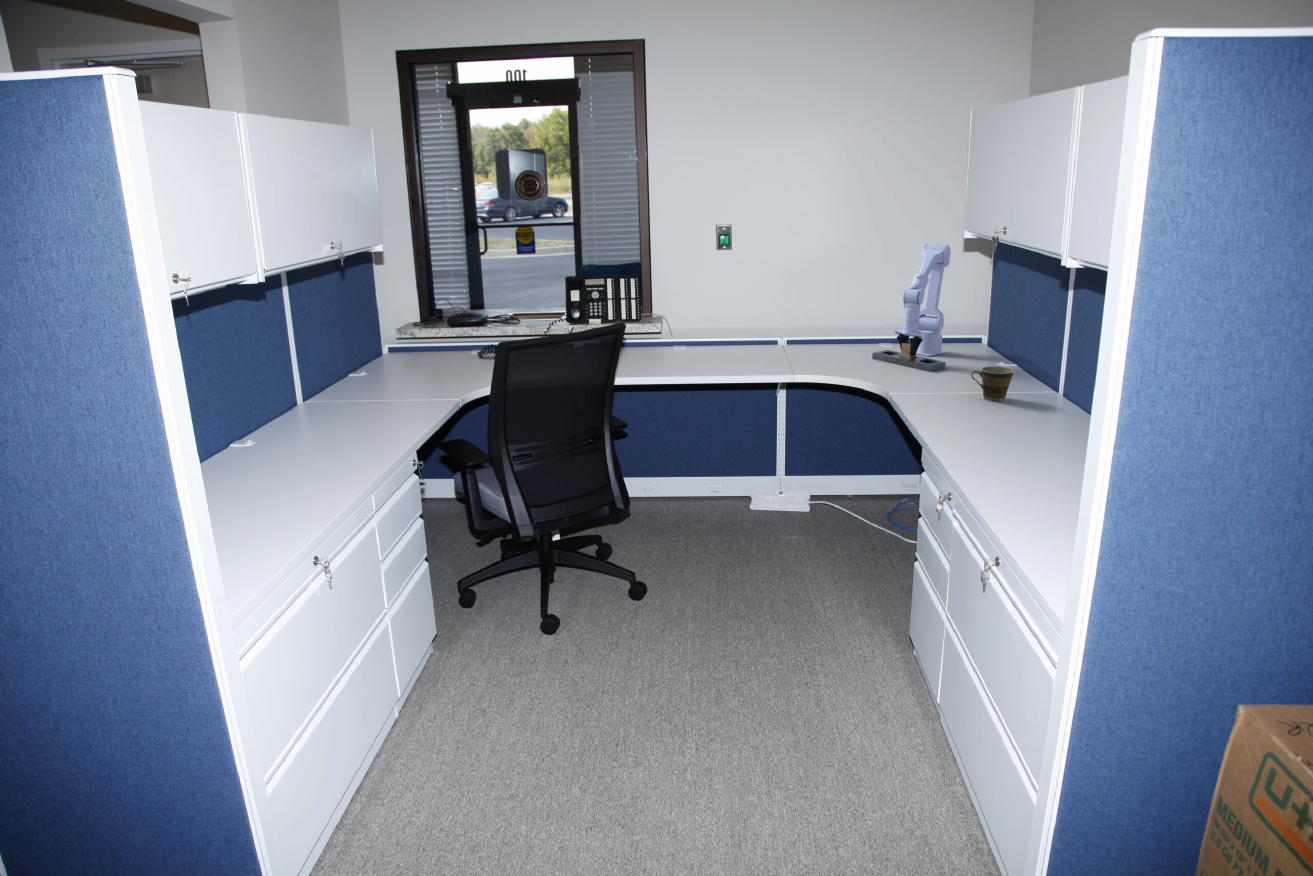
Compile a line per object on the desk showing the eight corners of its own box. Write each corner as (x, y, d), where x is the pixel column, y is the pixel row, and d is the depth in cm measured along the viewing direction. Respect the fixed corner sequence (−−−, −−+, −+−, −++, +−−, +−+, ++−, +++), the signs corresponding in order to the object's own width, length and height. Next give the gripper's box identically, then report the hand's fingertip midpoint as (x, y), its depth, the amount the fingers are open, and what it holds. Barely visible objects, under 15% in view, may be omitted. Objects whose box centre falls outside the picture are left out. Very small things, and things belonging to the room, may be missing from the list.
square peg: (907, 359, 335) (908, 341, 332) (915, 360, 332) (916, 343, 329) (900, 360, 332) (901, 343, 330) (908, 362, 329) (910, 344, 327)
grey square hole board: (886, 355, 346) (887, 349, 345) (945, 368, 324) (945, 362, 323) (872, 358, 341) (872, 352, 340) (930, 371, 319) (931, 365, 318)
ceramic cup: (1007, 395, 287) (1010, 367, 284) (1012, 403, 278) (1015, 374, 274) (966, 393, 290) (970, 365, 286) (970, 401, 280) (973, 372, 277)
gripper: (889, 318, 330) (886, 352, 335) (920, 324, 319) (917, 359, 323) (901, 316, 334) (898, 350, 338) (932, 321, 323) (928, 356, 327)
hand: (908, 354), depth 331 cm, fingers closed on square peg, 4 cm apart
